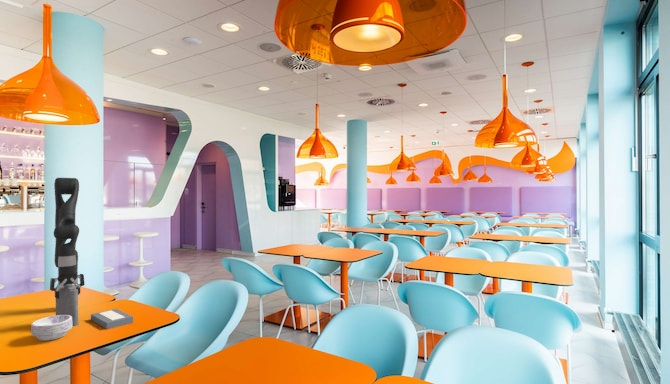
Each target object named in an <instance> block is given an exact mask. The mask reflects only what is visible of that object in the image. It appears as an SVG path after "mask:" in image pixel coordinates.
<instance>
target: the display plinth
mask: <svg viewBox="0 0 670 384" xmlns="http://www.w3.org/2000/svg"><path fill="white" fill-rule="evenodd" d="M90 321H92V322H93V323H96V324H97V325H99V326H100V327H102V328H104V329H106V330H109V329H114V328H118V327H121V326H125V325H129V323H130V324H133V323H134V316H132V315H130V314H128V313H126V312H124V311H122V310H120V309H118V308H114V309H108V310H104V311H99V312H94V313H91V314H90Z"/></svg>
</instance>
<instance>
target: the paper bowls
mask: <svg viewBox="0 0 670 384" xmlns="http://www.w3.org/2000/svg"><path fill="white" fill-rule="evenodd" d="M72 328H73V326H72V316H70V315H56V314H55V315H50V316H46V317H43V318H38V319H36V320H35V321H33V322H32V323H31V324H30V330H31V331H30V333H31V336H32V337H36V338H37V339H38V341H42V342H48V341H54V340H57V339H61V338H62V337H65V336H66V335H67V333H68V331H70V330H71V329H72Z"/></svg>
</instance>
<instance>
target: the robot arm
mask: <svg viewBox="0 0 670 384" xmlns="http://www.w3.org/2000/svg"><path fill="white" fill-rule="evenodd" d="M53 185H54V200H55V213H54V214H55V215H54V219H55V220H54V230H53V237H54V239H55V245H54V246H55V249H54V266H55V267H56V268H57V269H58V270H57V277H54V278H53V277H51V278H50V281H49V282H50V283H49V290H50V291H52V292H54V298H55V299H56V298H57V299H59V289H60V288H61V287H64V285H66V284H72V285H71V286H72V288H75V289H78V296H79V295H80V294H81V288H82V287H84V286H85V284H86V283H85V274H83V273H80V274H78V269H79V267H78V265H79V264H78V263H79V253H78V251H77V250H76V244H77V240H78V237H79V234H80V228H79V226H78V225H76V208H77V203H78V199H79V198H78V197H79V191H80V182H79V179H78V178H76V177H56V178H55V180H54V184H53ZM63 195H68V196H69V195H70V196H69V198H68V199H66V201H65V200H64V198H63ZM68 240H70V241H68ZM67 241H68V242H67ZM78 280H79V281H78ZM56 282H58V284H57V285H56ZM55 285H56V287H55Z"/></svg>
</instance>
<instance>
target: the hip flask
mask: <svg viewBox="0 0 670 384" xmlns="http://www.w3.org/2000/svg"><path fill="white" fill-rule="evenodd" d="M71 285H72V284H66V285H64V287H61V288H60V289H59V299H57V298H55V316H56V315H70V316H72V327H77V326H79V295H78V289H75V288H72V286H71Z"/></svg>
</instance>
